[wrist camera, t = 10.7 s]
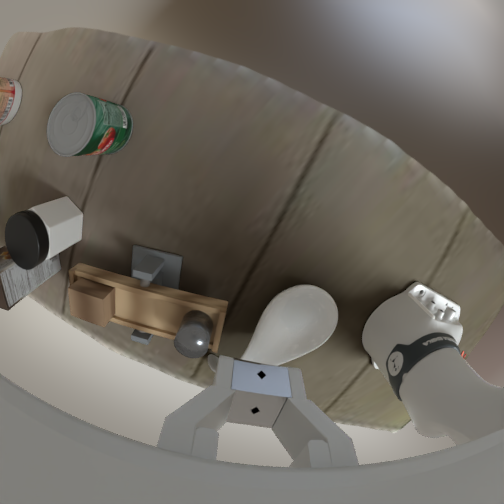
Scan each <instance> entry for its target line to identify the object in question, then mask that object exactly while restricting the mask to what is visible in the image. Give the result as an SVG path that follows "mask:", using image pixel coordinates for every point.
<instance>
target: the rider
mask: <svg viewBox="0 0 504 504" xmlns="http://www.w3.org/2000/svg"><path fill="white" fill-rule="evenodd" d="M68 293H69V303H70V312H71V315H72V316H75V317H77V318H80V319H82V320H85V321H88V322H91V323H93V324H96V325H99V326H102V327H105V326H106V325H107V323H108V322H109V321H110V320H111V318H112V317H113V316H114V314H115V287H112V286H108V285H105V284H102V283H99V282H95V281H92V280H89V279H86V278H83V277H81V278H80V279H78V280H77V281H76V282H75V283H73V284H72V285H71V286H70V287H69V288H68Z"/></svg>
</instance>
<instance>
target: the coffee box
mask: <svg viewBox="0 0 504 504" xmlns="http://www.w3.org/2000/svg"><path fill="white" fill-rule="evenodd" d="M60 270H61V265H60V259H59V253H58V254H56V255H55V256H53V257H51V258H50V259H47V260H45V261H44V262H42V263H41V264H39V265H38V266H36V267H35V268H33V269H31V270H25V269H22V268H20V267H19V266H18V265H16V263H15V262H14V261H13V260H12V258H11V256H10V254H9V252H8V249H7V246H4V247H2V248H0V308H2V309H5V310H9V309H11V308H12V307H13V306H14V305H15V304H17V303H18V302H19V301H20V300H22V299H23V298H24V297H25V296H27V295H28V294H29V293H31V292H32V291H33V290H34V289H36V288H37V287H38V286H40V285H41V284H42V283H44V282H45V281H46V280H47V279H49V278H50V277H52V276H53V275H54V274H56V273H57V272H58V271H60Z"/></svg>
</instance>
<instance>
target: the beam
mask: <svg viewBox="0 0 504 504" xmlns="http://www.w3.org/2000/svg"><path fill="white" fill-rule="evenodd" d="M81 277H83V278H86V279H89V280H92V281H95V282H99V283H102V284H105V285H108V286H112V287H115V314H114V316H113V317H112V318H111V320H110V321H111V322H115V323H118V324H121V325H124V326H127V327H130V328H134V329H137V330H138V331H139V332H141V333H145V332H147V333H151V334H154V335H158V336H161V337H165V338H169V339H173V340H174V339H175V336H176V334H177V331H178V329H179V327H180V324H181V322H182V319H183V317H184V315H185V314H186V313H188V312H189V311H193V310H198V311H202V312H204V313H206V314H208V315H209V316H210V317H211V319H212V321H213V329H212V334H211V338H210V342H209V347H208V348H210V349H212V352H216V353H217V351H218V347H219V342H220V338H221V333H222V329H223V324H224V320H225V315H226V310H227V305H228V301H224V300H220V299H215V298H211V297H206V296H202V295H198V294H194V293H189V292H185V291H181V290H177V289H173V288H169V287H165V286H161V285H157V284H154V283H150V281H148V280H145V279H141V278H140V280H138V279H135V278H131V277H127V276H124V275H120V274H117V273H113V272H110V271H106V270H103V269H99V268H96V267H93V266H89V265H86V264H83V263H78V264H77V265H76V266H74V267H73V268H71V269H70V270H69V282H70V286H71V285H72V284H73V283H75V282H76V281H77V280H78V279H80V278H81Z"/></svg>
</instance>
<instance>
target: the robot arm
mask: <svg viewBox="0 0 504 504" xmlns="http://www.w3.org/2000/svg"><path fill="white" fill-rule="evenodd" d="M420 291H421V292H420ZM459 315H460V307H459V305H458V304H456V303H455V302H453V301H451V300H450V299H448V298H446V297H445V296H443V295H441V294H439V293H438V292H436V291H434V290H432V289H431V288H429V287H427V286H425V285H423V284H422V283H420V282H415V283H413V284H412V285H411V286H409V287H408V288H407V289H406V290H405V291H404V292H402V293H400V294H398V295H396V296H394V297H392V298H390V299H388V300H386V301H385V302H384V303H382V304H381V305H380V306H379V307H378V308H377V309H376V310H375V311H374V312H373V313H372V314H371V316H370V317H369V319H368V320H367V322H366V324H365V327H364V330H363V334H362V343H363V346H364V348H365V350H366V351H367V352H368V354H369V355H370V356H371V359H372V364H373V366H374V367H375V368H376V369H379V370H380V371H381V373H382V374H383V376H384V377H385V378H386V380H387V381H388V383H389V384H390V385H391V386H392V388H393V392H394V393H395V395H396V396H397V397H398V399H399V400H400V401H402V402H403V404H404V406H405V408H406V410H407V412H408V414H409V416H410V418H411V420H412V422H413V424H414V426H415V428H416V430H417V432H418V433H419V434H421V435H422V436H425V437H430V438H439V437H444V436H449V437H450V438H451V439H452V440H453V441H454V442H455V444H456V445H457V446H454V447H451V448H447V449H444V450H440V451H437V452H433V453H428V454H424V455H420V456H415V457H410V458H405V459H400V460H394V461H388V462H381V463H375V464H365V465H359V463H358V460H357V456H356V452H355V449H354V445H353V442H352V439H351V438H350V437H349V436H348V435H347V434H346V433H345V432H344V431H343V430H341V429H340V428H339V427H338V426H337V425H336V424H335V423H334V422H333V421H332V420H331V419H330V418H329V417H328V416H327V415H326V414H325V413H324V412H323V411H322V410H321V409H320V408H318V407H317V406H316V405H315V404H314V403H313V402H312V401H311V400H307V397H306V392H305V386H304V381H303V376H302V371H301V369H300V368H293V367H282V366H275V365H269V364H262V363H257V362H252V361H247V360H242V359H238V358H234V359H233V358H232V357H227V356H223V355H220V356H219V359H218V363H217V368H216V372H215V376H214V381H213V385H212V386H211V385H210V386H209V387H207V388H206V389H205V390H203V391H202V392H201V393H199V394H198V395H196V396H195V397H194V398H193V399H191V400H190V401H188V402H187V403H185V404H184V405H183V406H181V407H180V408H178V409H177V410H175V411H174V412H173V413H171V414H170V415H168V416H167V417H166V418H165V421H164V424H163V427H162V431H161V434H160V437H159V441H158V444H157V447H155V446H152V445H148V444H145V443H142V442H138V441H135V440H132V439H129V438H127V437H124V436H121V435H118V434H115V433H113V432H110V431H107V430H105V429H102V428H100V427H97V426H95V425H92V424H90V423H87V422H86V421H83V420H81V419H79V418H77V417H74V416H72V415H70V414H68V413H66V412H64V411H62V410H60V409H58V408H56V407H54V406H52V405H50V404H49V403H47V402H45V401H43V400H41V399H40V398H38V397H36V396H34V395H33V394H31V393H29V392H28V391H26V390H24V389H23V388H21V387H20V386H18V385H16V384H15V383H13V382H12V381H10V380H9V379H7V378H6V377H4V376H3V375H1V374H0V504H504V387H498V386H494V385H492V384H490V383H488V382H486V381H485V380H483V379H482V378H481V377H480V376H479V375H478V374H477V373H476V372H475V371H474V370H473V369H472V368H471V366H470V365H469V364H468V363H467V362H466V361H465V360H464V358H465V356H466V354H465V355H464V356H463V353H464V351H462V353H460V350H459V347H458V344H459V342H460V339H461V336H462V331H463V328H462V325H461V324H460V322H459V321H458V319H459ZM462 356H463V357H462ZM226 422H231V423H238V424H247V425H253V426H260V427H267V428H272V430H273V432H274V433H275V435H276V436H277V438H278V439H279V441H280V442H281V443H282V445H283V446H284V448H285V449H286V451H287V452H288V453H289V455H290V456H291V458H292V459H293V460H294V461H293V462H292V464H291V465H290V466H289V467H270V466H257V465H247V464H239V463H231V462H224V461H218V460H216V456H217V446H218V436H219V434H218V432H217V431H218V430H219V429H220V428H221V427H222V426H223V425H224V424H225V423H226Z"/></svg>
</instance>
